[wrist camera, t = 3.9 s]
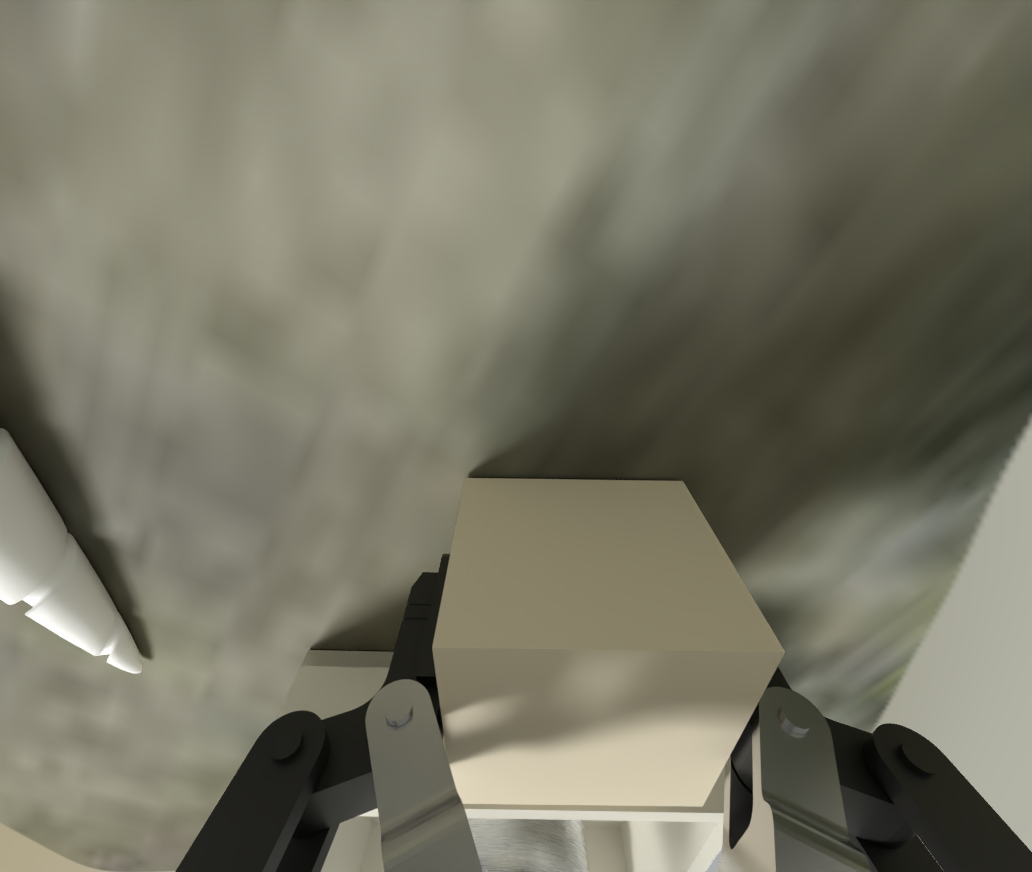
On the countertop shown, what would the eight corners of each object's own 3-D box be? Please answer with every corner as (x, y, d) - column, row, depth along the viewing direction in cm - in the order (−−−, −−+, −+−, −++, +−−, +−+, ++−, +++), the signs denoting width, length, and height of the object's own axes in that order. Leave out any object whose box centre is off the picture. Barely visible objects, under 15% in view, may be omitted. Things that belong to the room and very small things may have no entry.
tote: (308, 650, 15) (235, 804, 11) (687, 658, 15) (746, 814, 11) (365, 813, 22) (332, 945, 18) (627, 817, 22) (650, 949, 18)
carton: (465, 477, 11) (432, 647, 7) (682, 481, 11) (785, 651, 7) (472, 620, 14) (453, 803, 10) (646, 623, 14) (702, 806, 10)
